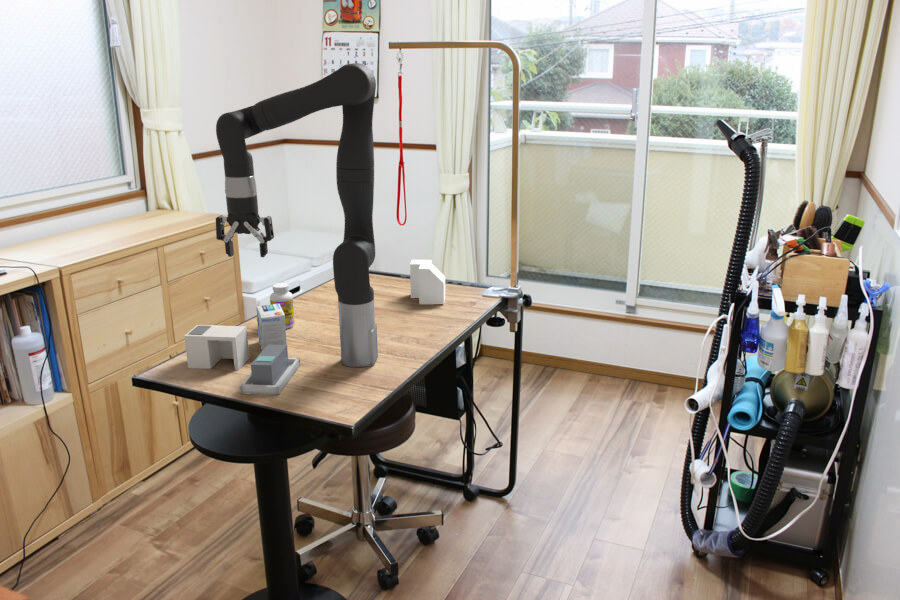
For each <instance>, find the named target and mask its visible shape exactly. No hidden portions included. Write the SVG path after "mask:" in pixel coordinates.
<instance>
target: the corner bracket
mask: <svg viewBox="0 0 900 600" xmlns="http://www.w3.org/2000/svg"><path fill="white" fill-rule="evenodd" d="M409 264H410V265H409V266H410V267H409V268H410V270H409V274H410V277H409V278H410V299H411V298H419V299H418V304H419V305H434V304H444V305H445V301H446V276H445V275H444V274H443V273H442V272H441V271H440V270H439V269H438V268H437V267H436V265H434V264H433V261H432V259H411V261H410V263H409Z"/></svg>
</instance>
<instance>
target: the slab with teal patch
mask: <svg viewBox="0 0 900 600" xmlns="http://www.w3.org/2000/svg"><path fill="white" fill-rule="evenodd" d="M288 358H289V352H288V344H287V345H272V344H268V345H267V346H266V347H265V349H264V350H263V351H262V350H261V352H260V353H259V355H257V357H256V358H255V359H254V360H253V361H252V362H251V363H250V369H251V370H250V373H251V372H252V382H253V385H276V383H277V382H278V381H279V379H280V378H281V376H282V375H283V374H284V372H285V371H286V370H287V368H288V367H289V364H288Z"/></svg>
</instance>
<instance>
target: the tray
mask: <svg viewBox="0 0 900 600" xmlns="http://www.w3.org/2000/svg"><path fill="white" fill-rule="evenodd" d="M288 364H289V367H288V368H287V370H286V371H285V372H284V374H283V375H282V376H281V378H280V379H279V381H278V382H277V383H276V385H253V382H252V372H251V371H250V373H249V375H248V376H247V377H246V378H245V379H244V380H243V381H242V383H241V384H240V385H239V391H240V394H241V393H249V394H248V395H265V394H271V396H280V395H281V393H282V392H283V390H284V389H285V387H286V386H287V385H288V384H289V382H290V380H291V379H292V378H293V376H294V375H295V373H296V372H297V371H298V369H299V368H300V367H301V358H300V357H288Z"/></svg>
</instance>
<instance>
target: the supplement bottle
mask: <svg viewBox="0 0 900 600" xmlns="http://www.w3.org/2000/svg"><path fill="white" fill-rule="evenodd" d="M289 289H290V285H289V283H286V282H277V283H274V284H272V291H273V292H272V293H271V294H270V295H269V303H270V304H269V305H272V304H280V306H281V308H282V310H283V312H284V314H285V328H286V330H287V329H291V328H292V327H294V325H295V309H294V308H295V307H294V296H293V293H292V292H290V291H289Z"/></svg>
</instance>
